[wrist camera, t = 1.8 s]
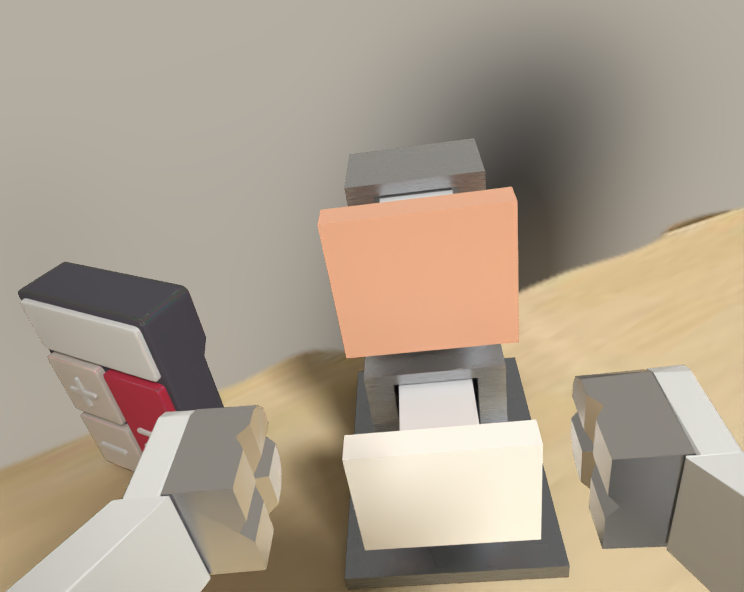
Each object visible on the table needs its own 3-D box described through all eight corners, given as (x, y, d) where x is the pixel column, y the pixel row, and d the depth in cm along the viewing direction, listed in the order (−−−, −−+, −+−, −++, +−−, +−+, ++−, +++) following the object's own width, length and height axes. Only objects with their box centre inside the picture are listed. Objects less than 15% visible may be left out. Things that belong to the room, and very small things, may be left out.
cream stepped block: (365, 550, 32) (342, 460, 28) (369, 441, 38) (351, 354, 34) (541, 539, 31) (542, 444, 27) (515, 429, 37) (514, 339, 33)
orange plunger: (346, 358, 32) (317, 224, 28) (353, 281, 38) (330, 162, 34) (518, 341, 31) (517, 200, 27) (497, 265, 37) (493, 141, 33)
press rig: (347, 589, 34) (268, 323, 23) (360, 381, 48) (314, 158, 38) (568, 576, 33) (587, 291, 22) (515, 367, 47) (511, 133, 36)
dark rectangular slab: (101, 465, 44) (2, 296, 36) (143, 424, 47) (62, 259, 39) (215, 513, 39) (131, 330, 31) (254, 464, 42) (188, 285, 34)
